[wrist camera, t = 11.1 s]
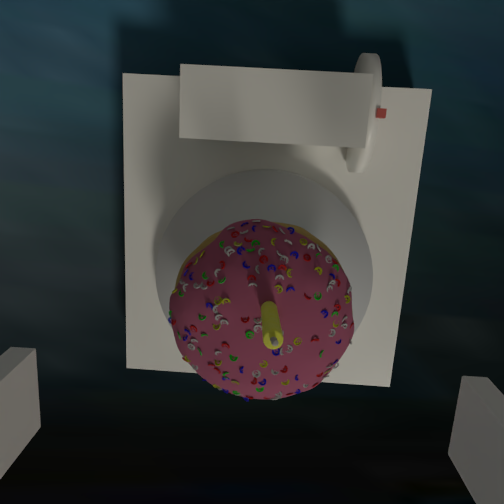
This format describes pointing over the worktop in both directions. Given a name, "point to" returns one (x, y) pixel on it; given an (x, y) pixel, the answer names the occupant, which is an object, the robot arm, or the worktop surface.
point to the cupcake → (262, 310)
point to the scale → (271, 188)
